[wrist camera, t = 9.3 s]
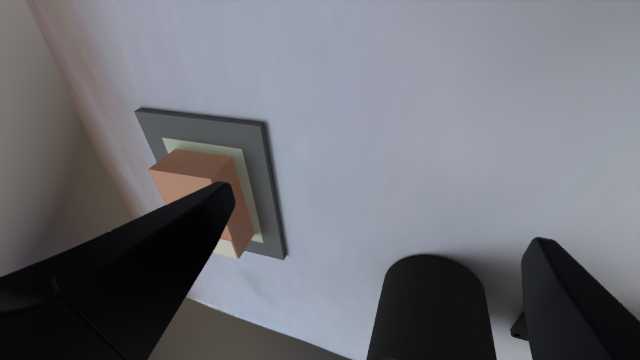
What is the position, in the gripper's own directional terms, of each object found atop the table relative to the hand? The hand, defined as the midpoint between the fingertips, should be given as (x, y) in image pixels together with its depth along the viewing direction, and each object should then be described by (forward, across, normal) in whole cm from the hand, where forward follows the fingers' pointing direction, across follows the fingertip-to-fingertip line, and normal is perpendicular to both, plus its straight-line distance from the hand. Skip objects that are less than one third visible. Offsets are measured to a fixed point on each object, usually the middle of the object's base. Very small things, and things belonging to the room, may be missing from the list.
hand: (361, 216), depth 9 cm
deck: (+11, +16, +12) cm, 23 cm away
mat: (+12, +16, +12) cm, 23 cm away
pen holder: (+12, -5, +19) cm, 23 cm away
